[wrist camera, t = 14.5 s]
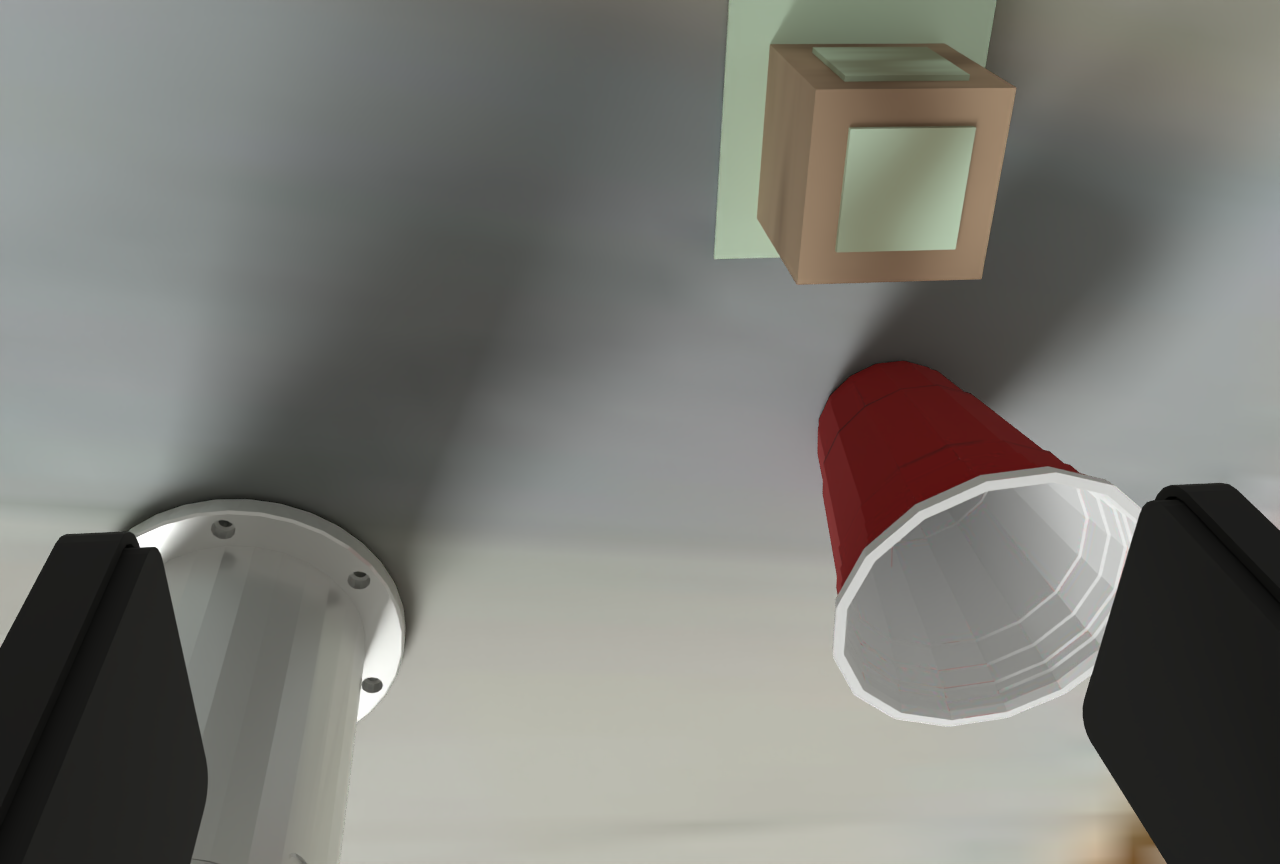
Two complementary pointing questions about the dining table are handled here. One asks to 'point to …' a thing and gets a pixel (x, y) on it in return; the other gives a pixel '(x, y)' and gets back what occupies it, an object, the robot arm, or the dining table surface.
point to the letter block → (881, 161)
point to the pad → (811, 14)
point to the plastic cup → (960, 552)
